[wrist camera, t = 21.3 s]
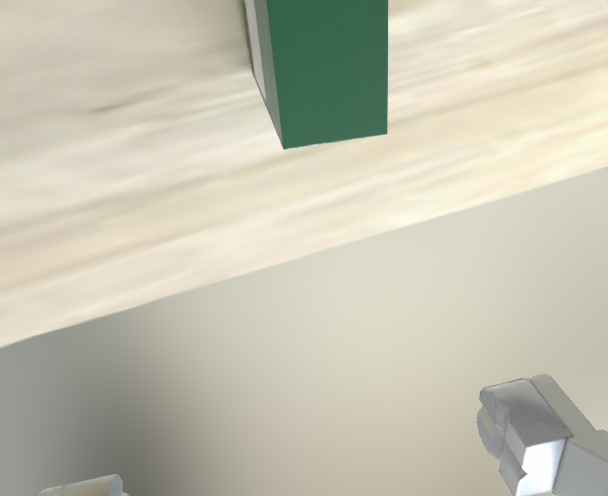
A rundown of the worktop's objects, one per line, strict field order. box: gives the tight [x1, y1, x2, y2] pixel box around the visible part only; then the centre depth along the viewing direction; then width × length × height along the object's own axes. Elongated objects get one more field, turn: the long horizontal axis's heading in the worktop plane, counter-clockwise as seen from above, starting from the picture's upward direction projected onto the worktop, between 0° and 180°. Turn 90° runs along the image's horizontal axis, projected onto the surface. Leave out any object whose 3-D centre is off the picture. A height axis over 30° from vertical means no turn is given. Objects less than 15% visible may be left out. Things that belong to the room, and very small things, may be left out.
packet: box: [243, 0, 388, 149], centre depth 27 cm, size 15×5×9 cm
